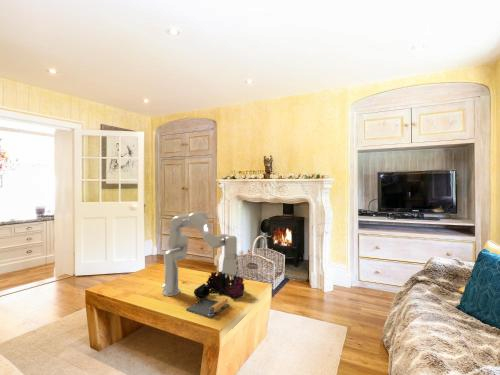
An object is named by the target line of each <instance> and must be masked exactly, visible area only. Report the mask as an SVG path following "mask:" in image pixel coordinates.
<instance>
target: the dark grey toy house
mask: <svg viewBox="0 0 500 375" xmlns="http://www.w3.org/2000/svg"><path fill="white" fill-rule="evenodd" d="M207 287H208V288H210V286H209V285H207V284H206V282H205V283H202V284H201V285H199V286H198V287H197V288H195V289H194V290H193V294H194V296H195V297H196V298H198V299H200V300H201V299H203V298H206V297H207V296H208V295H211V293H210V292H211V289H207Z"/></svg>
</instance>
